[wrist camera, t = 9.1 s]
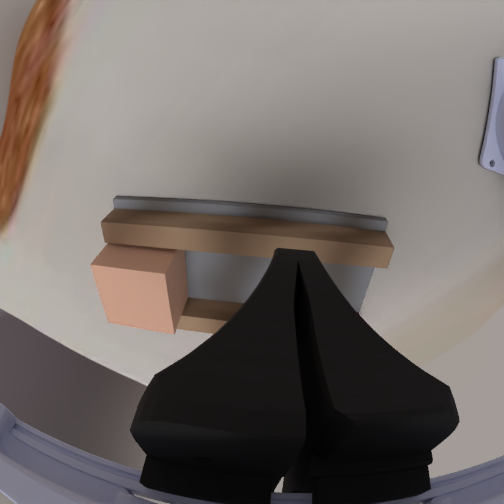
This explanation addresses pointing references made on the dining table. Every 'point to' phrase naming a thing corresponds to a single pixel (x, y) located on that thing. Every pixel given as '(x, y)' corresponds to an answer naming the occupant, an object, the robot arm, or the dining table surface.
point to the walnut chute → (247, 247)
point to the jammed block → (142, 285)
